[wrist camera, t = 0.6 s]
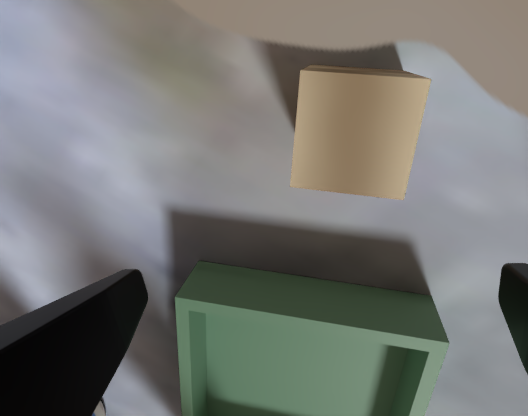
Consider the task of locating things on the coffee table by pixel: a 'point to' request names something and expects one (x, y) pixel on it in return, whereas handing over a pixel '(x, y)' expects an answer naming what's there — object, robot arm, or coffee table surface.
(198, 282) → the green bin
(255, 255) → the coffee table surface
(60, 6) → the coffee table surface
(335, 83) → the beech block
